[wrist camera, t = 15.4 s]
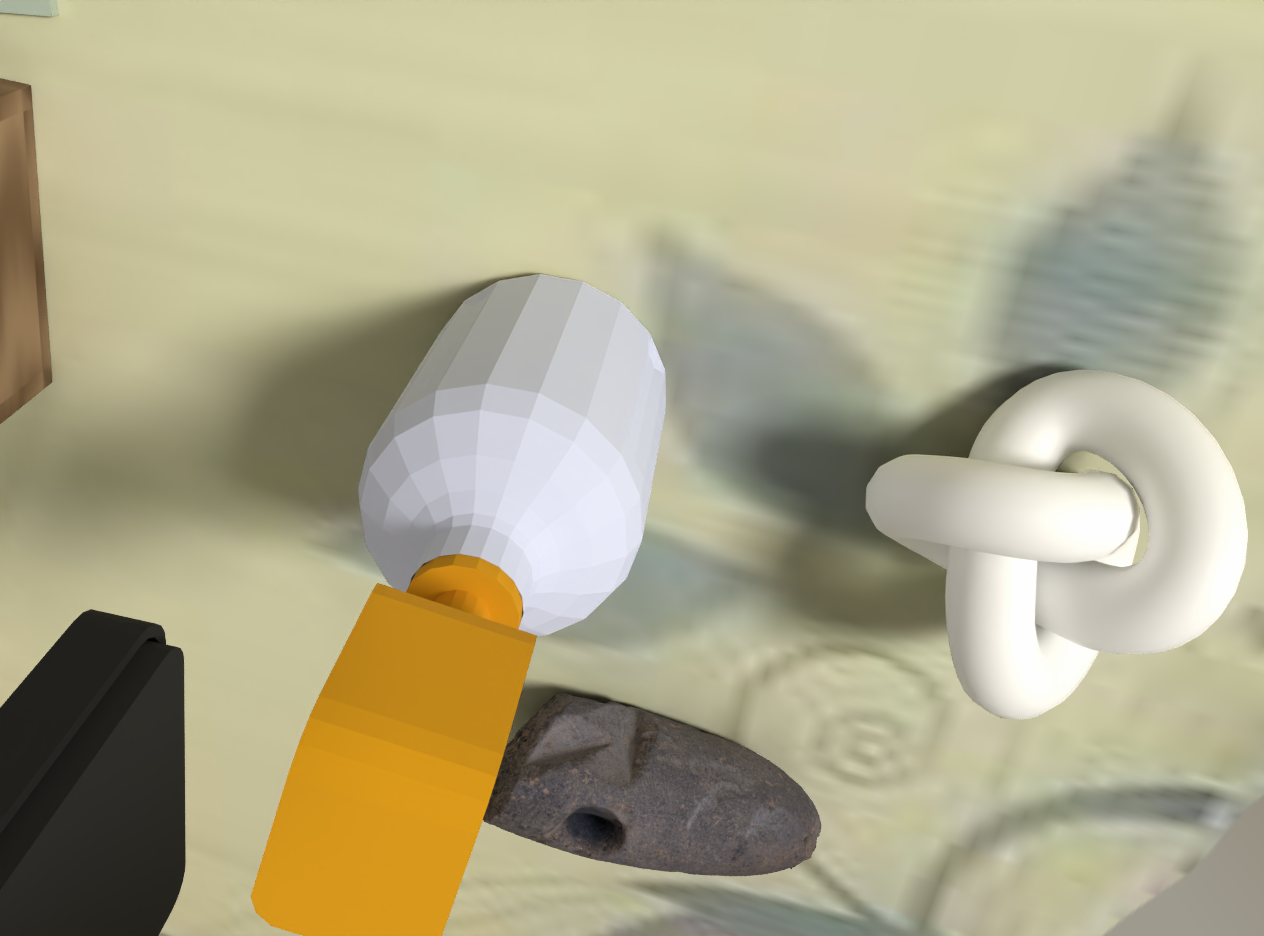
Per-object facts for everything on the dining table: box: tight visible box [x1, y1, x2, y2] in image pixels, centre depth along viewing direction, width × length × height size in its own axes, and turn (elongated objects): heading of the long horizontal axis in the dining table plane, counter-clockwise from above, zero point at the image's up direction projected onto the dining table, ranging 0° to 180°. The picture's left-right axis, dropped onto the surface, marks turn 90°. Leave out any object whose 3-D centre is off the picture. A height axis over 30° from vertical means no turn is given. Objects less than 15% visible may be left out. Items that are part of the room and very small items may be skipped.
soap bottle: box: [251, 274, 666, 936], centre depth 34 cm, size 9×9×25 cm
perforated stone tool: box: [483, 693, 821, 876], centre depth 51 cm, size 15×5×7 cm, turn 73°
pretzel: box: [866, 369, 1248, 719], centre depth 41 cm, size 11×12×9 cm
